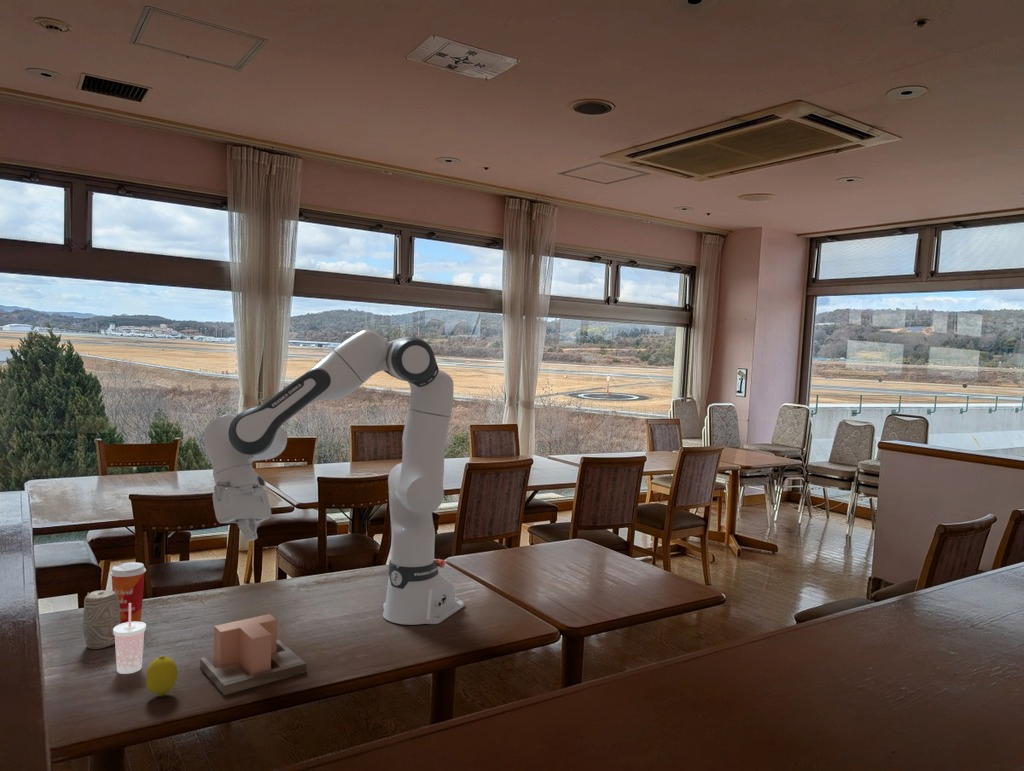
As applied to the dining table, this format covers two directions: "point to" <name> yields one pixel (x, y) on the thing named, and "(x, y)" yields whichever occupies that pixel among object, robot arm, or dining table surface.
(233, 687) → the t dock
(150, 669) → the lemon
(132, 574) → the paper cup
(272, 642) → the t block
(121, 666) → the beverage cup
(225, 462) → the robot arm
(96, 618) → the carving
